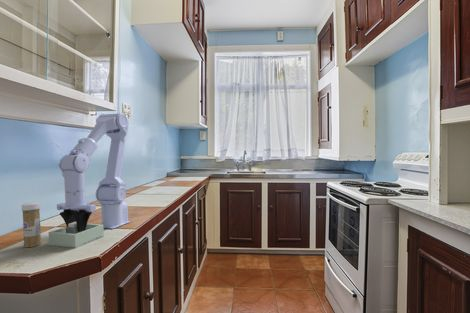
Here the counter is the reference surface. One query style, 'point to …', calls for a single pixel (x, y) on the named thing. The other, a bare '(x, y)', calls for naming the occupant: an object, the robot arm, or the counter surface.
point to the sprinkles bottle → (31, 224)
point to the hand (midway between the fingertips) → (77, 232)
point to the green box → (76, 236)
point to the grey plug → (72, 228)
